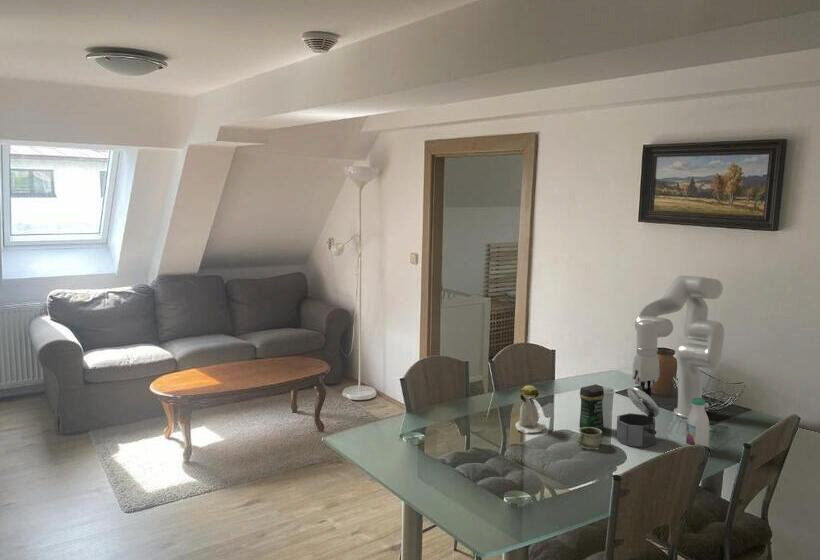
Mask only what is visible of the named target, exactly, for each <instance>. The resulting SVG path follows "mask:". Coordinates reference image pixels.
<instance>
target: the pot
mask: <svg viewBox="0 0 820 560" xmlns="http://www.w3.org/2000/svg"><path fill="white" fill-rule="evenodd" d="M616 417H617V418H616V440H617V442H619V443H620V444H622V445H624V446H627V447H632V448H648V447H652V446H654V445H655V444H656V434H657V431H656V418H655V417H653V418H652V417H649V416H648V415H647V414H644V413H643V414H642V413H630V412H629V413H623V414H620V415H617V416H616Z"/></svg>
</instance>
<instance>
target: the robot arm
mask: <svg viewBox="0 0 820 560" xmlns="http://www.w3.org/2000/svg"><path fill="white" fill-rule="evenodd" d="M722 293H723V284H722V282H721V281H720V280H719V279H716V278H711V277H705V276H697V275H695V276H694V275H678V276H677V277H675V278H674V280H673V281H672V282H671V283H670V285H669V287H668V288H667V290H666V292H665V293H664V295H663V296H662V297H660V298H658V299H656V300H654V301H652V302H649V303H648V304H646V305H645V306H644V307H643V308H642V309H641V310H640V312H639V314H638V316H637V317H636V318H635V321H634V329H635V331H636V354H635V355H634V359H633V363H632V372H631V373H632V374H631V375H632V379H633V380H635V381H634V384H635V385H637V386H638V385H639V386H640V388H641V390H642V391H644V392H645V393H646V394H648V395H649V396H650V397H651V398H652V388H653V385H654V384H655V383H656V382H658V381H659V378H660V374H661V373H660V360H659V355H658V351H659V348H658V338H665V337H666V338H667V337H668V336H670V335H671V334H672V332H673V330H674V325H673V322H672V321H671V320H670V319H668V318H665V317H659V316H663V315H669V314H673V313H677V312H679V311H681V310H682V309H683V307H684V305H686V312H685V318H684V326H683V336H684V337H685V338H686V339H687V340H691V341H697V342H702V343H703V342H704V343H708V344H707V345H706V344H705V345H704V344H701V343H694V342H683V343H680V344H679V345H678V346H677V347H676V351H675V353H676V361H677V368H678V369H677V370H678V374H677V375H678V376H677V378H678V380H677V381H678V382H677V407H676V408H673V413H674V415H676V416H677V415H678V416H677V417H681V418H685V419H687V418H688V415H689V413H690V411H691V409H692V399H693V398H702V397H703V374H702V371H701V370H700V368H703V369H709V370H713V369H714V370H715V369H717V368H718V367H719V366H720V363H721V360H722V355H723V354H722V352H723V345H724V338H725V328H724V325H723V323H721V322H720V321H717V320H712V319H708V315H709V314H708V313H709V307H708V304H707V302H706V299H707V300H708V299H709V300H716V299H718V298H719V297H721V296H722ZM702 399H703V398H702ZM704 408H705V409H706V408H707V409H708V408H710V404H709V402H705V406H704Z"/></svg>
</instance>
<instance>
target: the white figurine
mask: <svg viewBox="0 0 820 560" xmlns="http://www.w3.org/2000/svg"><path fill="white" fill-rule="evenodd" d="M519 394H520V399H521V401H522V404H521V406H520V408H519V420H518V421H517V422H515V429H516V430H517V431H520V432H521V433H522V434H529V433H530V434H531V433H532V434H533V433H542V432H543V430H545V429H546V426H547V424H546V423H544V421H542V422H541V423H539V419H540V413H539V412H538V408H537V406H536V403H535V402H534V400H537V399H539V398H540V397H541V395H540V392H539V391H538V389H537V388H536V387H535V386H534V385H525V386H523V388H521V390H520V392H519Z"/></svg>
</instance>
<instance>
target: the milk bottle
mask: <svg viewBox="0 0 820 560" xmlns="http://www.w3.org/2000/svg"><path fill="white" fill-rule="evenodd" d="M705 403H706V400H705V399H704V398H693V399H692V409H691V411H690V413H689V415H688V418H686V431H685V432H686V435H685V436H686V439H685V442H686V443H685V444H686V445H695V444H700V445H704V446H707V447H709V446H710V445H709V444H710V420H709V417H708V414H707V411H706V408H704V406H705ZM686 445H685V446H686ZM709 448H710V447H709Z"/></svg>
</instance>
